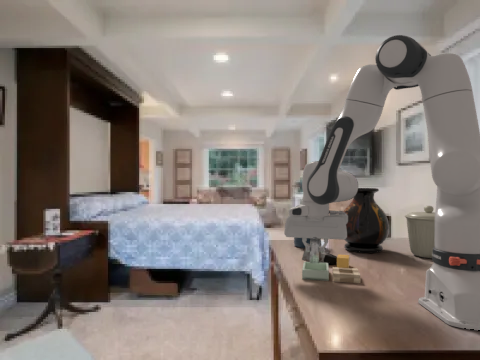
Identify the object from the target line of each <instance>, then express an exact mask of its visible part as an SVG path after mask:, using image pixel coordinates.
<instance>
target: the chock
mask: <svg viewBox="0 0 480 360" xmlns="http://www.w3.org/2000/svg"><path fill="white" fill-rule="evenodd" d="M336 267H337V268H350V254H340V253H339V254H337V263H336Z"/></svg>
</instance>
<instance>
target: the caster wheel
mask: <svg viewBox="0 0 480 360" xmlns="http://www.w3.org/2000/svg"><path fill="white" fill-rule="evenodd" d="M307 245H308V246H310V244H308V243H307ZM303 249H304V250H303V254H302V258H301V260H302V261H303V262H310V252H306V246H305V248H303ZM337 256H338V255H337ZM337 256H336V255H335V254H333V253H330V251H329V252H328V251H325V253H323V252H320V246H319V262H321V263H328V264H330V265H331V264H332V265H337Z"/></svg>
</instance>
